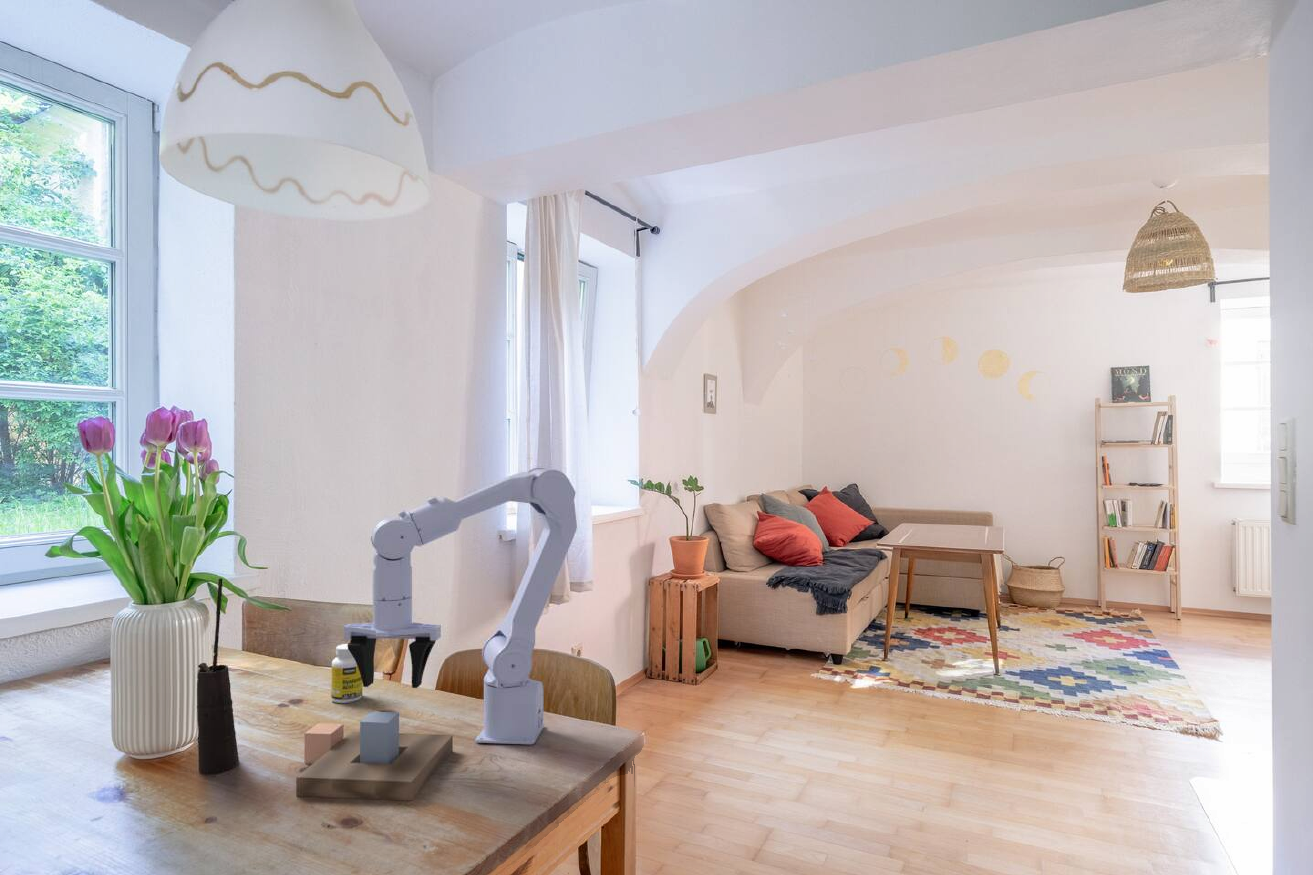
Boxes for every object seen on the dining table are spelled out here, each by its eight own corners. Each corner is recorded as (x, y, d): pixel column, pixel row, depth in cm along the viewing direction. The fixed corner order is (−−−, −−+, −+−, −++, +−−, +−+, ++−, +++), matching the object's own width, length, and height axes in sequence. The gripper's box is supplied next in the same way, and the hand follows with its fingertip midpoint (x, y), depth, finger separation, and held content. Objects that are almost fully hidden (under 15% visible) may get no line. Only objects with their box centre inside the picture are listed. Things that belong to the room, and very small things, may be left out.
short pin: (343, 753, 116) (343, 723, 116) (330, 764, 112) (330, 733, 112) (318, 752, 116) (318, 723, 116) (304, 763, 112) (304, 733, 112)
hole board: (452, 750, 117) (452, 734, 117) (411, 800, 101) (411, 781, 101) (352, 747, 118) (352, 731, 118) (296, 795, 102) (296, 777, 102)
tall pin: (398, 766, 111) (399, 712, 111) (387, 778, 107) (387, 722, 107) (372, 765, 112) (372, 711, 112) (359, 777, 108) (360, 721, 108)
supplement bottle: (341, 706, 136) (341, 651, 136) (325, 699, 139) (325, 646, 139) (368, 697, 140) (368, 645, 140) (352, 691, 144) (352, 640, 144)
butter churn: (166, 765, 111) (167, 575, 111) (237, 746, 118) (238, 567, 118) (184, 785, 105) (185, 584, 105) (258, 764, 112) (258, 575, 112)
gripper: (334, 602, 113) (334, 693, 113) (429, 603, 112) (429, 695, 112) (355, 592, 120) (355, 677, 120) (445, 593, 119) (445, 679, 119)
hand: (392, 685), depth 116 cm, fingers open, 7 cm apart
